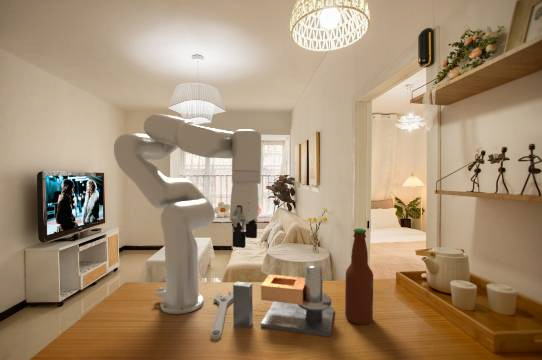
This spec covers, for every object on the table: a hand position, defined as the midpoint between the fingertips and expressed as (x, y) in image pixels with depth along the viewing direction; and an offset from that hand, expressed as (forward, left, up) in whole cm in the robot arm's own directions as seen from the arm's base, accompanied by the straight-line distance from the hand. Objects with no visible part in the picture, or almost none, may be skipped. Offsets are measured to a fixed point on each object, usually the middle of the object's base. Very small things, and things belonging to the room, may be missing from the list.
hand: (245, 242), depth 79 cm
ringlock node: (+13, +7, -22) cm, 27 cm away
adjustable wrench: (-9, +3, -23) cm, 25 cm away
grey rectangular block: (-1, 0, -22) cm, 22 cm away
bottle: (+29, +11, -22) cm, 38 cm away
